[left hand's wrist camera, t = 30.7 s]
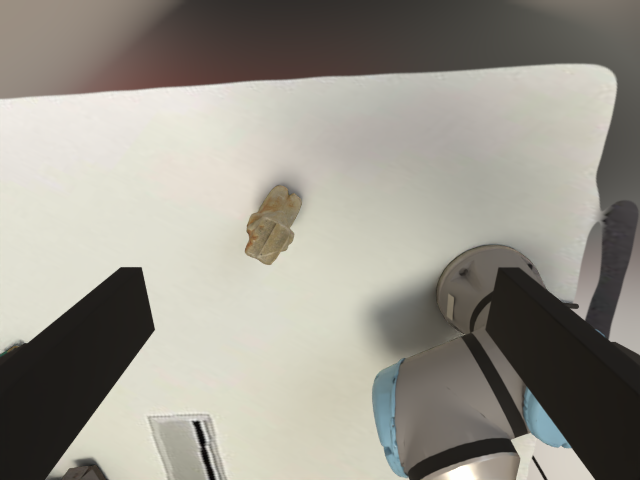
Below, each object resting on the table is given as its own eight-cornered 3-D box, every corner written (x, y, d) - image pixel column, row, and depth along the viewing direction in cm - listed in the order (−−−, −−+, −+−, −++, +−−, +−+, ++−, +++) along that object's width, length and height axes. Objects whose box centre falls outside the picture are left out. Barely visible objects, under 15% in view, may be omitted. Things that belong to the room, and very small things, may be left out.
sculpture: (309, 201, 49) (305, 239, 35) (281, 239, 51) (267, 289, 37) (275, 177, 48) (257, 207, 34) (248, 217, 50) (220, 260, 36)
